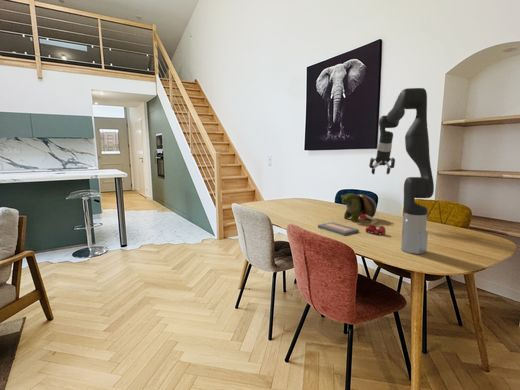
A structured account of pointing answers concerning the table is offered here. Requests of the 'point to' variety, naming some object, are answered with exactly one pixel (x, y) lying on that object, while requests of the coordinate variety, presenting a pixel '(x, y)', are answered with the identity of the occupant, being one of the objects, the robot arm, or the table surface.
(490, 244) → the table surface
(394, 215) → the table surface
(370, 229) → the toy fire truck
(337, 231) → the board
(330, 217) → the table surface
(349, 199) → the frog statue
